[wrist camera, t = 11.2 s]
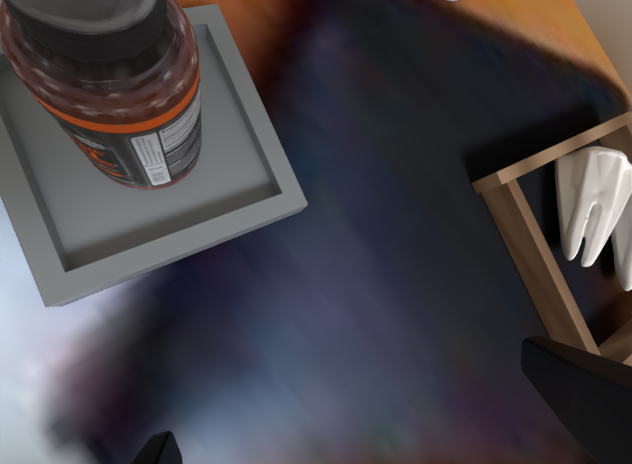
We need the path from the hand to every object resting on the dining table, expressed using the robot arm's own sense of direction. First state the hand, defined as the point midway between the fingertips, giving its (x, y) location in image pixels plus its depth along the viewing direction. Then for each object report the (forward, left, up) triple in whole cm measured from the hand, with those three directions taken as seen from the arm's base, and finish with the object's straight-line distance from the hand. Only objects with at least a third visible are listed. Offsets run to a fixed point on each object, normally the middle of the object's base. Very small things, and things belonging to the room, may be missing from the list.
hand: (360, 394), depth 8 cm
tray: (-2, +13, -12) cm, 18 cm away
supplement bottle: (-2, +13, -12) cm, 18 cm away
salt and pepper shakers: (+30, -5, -13) cm, 33 cm away
